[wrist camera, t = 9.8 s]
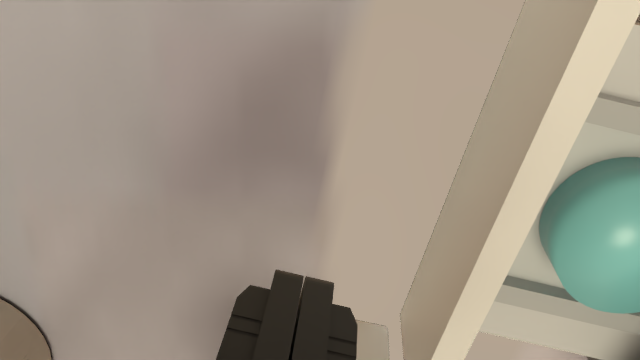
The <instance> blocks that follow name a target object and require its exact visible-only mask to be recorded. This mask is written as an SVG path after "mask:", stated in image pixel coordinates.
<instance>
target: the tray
mask: <svg viewBox="0 0 640 360" xmlns="http://www.w3.org/2000/svg"><path fill="white" fill-rule="evenodd" d="M639 14H640V0H525V3H524V5H523V8H522V10H521V13H520V15H519V18H518V20H517V23H516V26H515V28H514V30H513V33H512V35H511V38H510V40H509V43H508V45H507V48H506V50H505V53H504V55H503V58H502V60H501V63H500V65H499V68H498V70H497V73H496V75H495V78H494V80H493V83H492V85H491V88H490V90H489V93H488V95H487V98H486V100H485V103H484V105H483V108H482V110H481V113H480V115H479V118H478V121H477V123H476V125H475V128H474V130H473V133H472V135H471V138H470V140H469V143H468V145H467V148H466V150H465V153H464V155H463V158H462V161H461V163H460V166H459V168H458V170H457V173H456V175H455V178H454V181H453V183H452V186H451V188H450V191H449V193H448V195H447V198H446V201H445V203H444V205H443V208H442V210H441V213H440V216H439V218H438V221H437V223H436V226H435V228H434V231H433V233H432V236H431V238H430V241H429V243H428V246H427V249H426V251H425V253H424V256H423V258H422V261H421V263H420V266H419V268H418V271H417V273H416V276H415V278H414V281H413V283H412V286H411V288H410V291H409V293H408V296H407V298H406V301H405V303H404V306H403V308H402V311H401V313H400V320H401V332H402V345H403V358H404V360H464V359H465V357H466V355H467V353H468V351H469V349H470V347H471V345H472V343H473V341H474V339H475V337H476V335H477V333H478V331H479V332H483V333H488V334H492V335H497V336H501V337H505V338H510V339H514V340H518V341H523V342H527V343H531V344H536V345H540V346H544V347H549V348H553V349H557V350H562V351H566V352H571V353H575V354H579V355H584V356H588V357H592V358H597V359H601V360H640V312H637V313H624V314H621V313H609V312H603V311H599V310H595V309H592V308H590V307H587V306H585V305H583V304H582V303H580V302H578V301H577V300H576V299H574V298H573V297H572V296H571V295H570V294H569V293H568V292H567V291H566V289H565V288H564V286H563V285H562V283H561V281H560V279H559V277H558V275H557V273H556V271H555V269H554V268H553V266H552V264H551V262H550V260H549V258H548V256H547V254H546V252H545V250H544V248H543V246H542V244H541V240H540V236H539V222H540V217H541V213H542V211H543V208H544V206H545V204H546V202H547V201H548V199H549V197H550V196H551V195H552V193H553V192H554V191H555V190H556V189H557V188H558V187H559V186H560V184H562V183H563V182H564V181H565V180H566V179H567V178H569V177H570V176H572V175H573V174H575V173H576V172H578V171H580V170H581V169H583V168H585V167H587V166H590V165H592V164H595V163H597V162H601V161H604V160H608V159H613V158H620V157H639V158H640V23H637V22H636V20H637V18H638V16H639Z"/></svg>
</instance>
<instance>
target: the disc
mask: <svg viewBox="0 0 640 360" xmlns="http://www.w3.org/2000/svg"><path fill="white" fill-rule="evenodd" d="M539 236H540V240H541V244H542V246H543V248H544V250H545V252H546V254H547V256H548V258H549V260H550V262H551V264H552V266H553V268H554V269H555V271H556V273H557V275H558V277H559V279H560V281H561V283H562V285H563V286H564V288H565V289H566V291H567V292H568V293H569V294H570V295H571V296H572V297H573V298H574V299H576V300H577V301H578V302H580V303H582V304H583V305H585V306H587V307H590V308H592V309H595V310H599V311H603V312H609V313H621V314H624V313H637V312H640V158H639V157H620V158H613V159H608V160H604V161H601V162H597V163H595V164H592V165H590V166H587V167H585V168H583V169H581V170H580V171H578V172H576V173H575V174H573V175H572V176H570V177H569V178H567V179H566V180H565V181H564V182H563V183H562V184H560V186H559V187H558V188H557V189H556V190H555V191H554V192H553V193H552V195H551V196H550V197H549V199H548V201H547V202H546V204H545V206H544V208H543V211H542V213H541V217H540V222H539Z"/></svg>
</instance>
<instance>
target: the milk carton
mask: <svg viewBox="0 0 640 360" xmlns="http://www.w3.org/2000/svg"><path fill="white" fill-rule="evenodd" d="M356 322H357V325H358V330H357V345H356V346H357V357H356V360H389V339H388V328H387V327H386V326H383V325H378V324H373V323H369V322H364V321H359V320H356Z"/></svg>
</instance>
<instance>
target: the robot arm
mask: <svg viewBox="0 0 640 360" xmlns="http://www.w3.org/2000/svg"><path fill="white" fill-rule="evenodd" d="M302 283H303V276H302V275H297V274H293V273H289V272H284V271H280V270H276V271H275V274H274V278H273V282H272V286H271V290H269V289H265V288H261V287H256V286H252V285H250V286H249V287H248V288H247V289H246V290H244V291H243V292H242V293H241V294H240V295H239V296H238V297H237V299H236V302H235V305H234V308H233V311H232V314H231V317H230V320H229V323H228V326H227V329H226V332H225V335H224V338H223V341H222V343H221V346H220V349H219V352H218V355H217V358H216V360H356V357H357V346H356V345H357V330H358V325H357V322H356V320H355V318H354V316H353V314H352V312H351V309H350V308H348V307H344V306H339V305H335V304H332V299H333V289H334V283H332V282H328V281H324V280H320V279H315V278H311V277H307V276H306V277H305V281H304V284H303V288H302ZM301 288H302V292H301ZM300 293H301V296H300ZM0 360H51V355H50V349H49V347H48V345H47V343H46V341H45V338H44V337H43V335H42V334H41V333H40V331H39V330H38V328H37V327H36V326H35V325H34V324H33V323H32V322H31V321H30V320H29V319H28V318H27V317H26V316H25V315H24V314H23V313H21V312H20V311H19V310H17V309H16V308H15V307H13V306H12V305H10V304H9V303H7V302H5V301H3V300H1V299H0Z"/></svg>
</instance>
